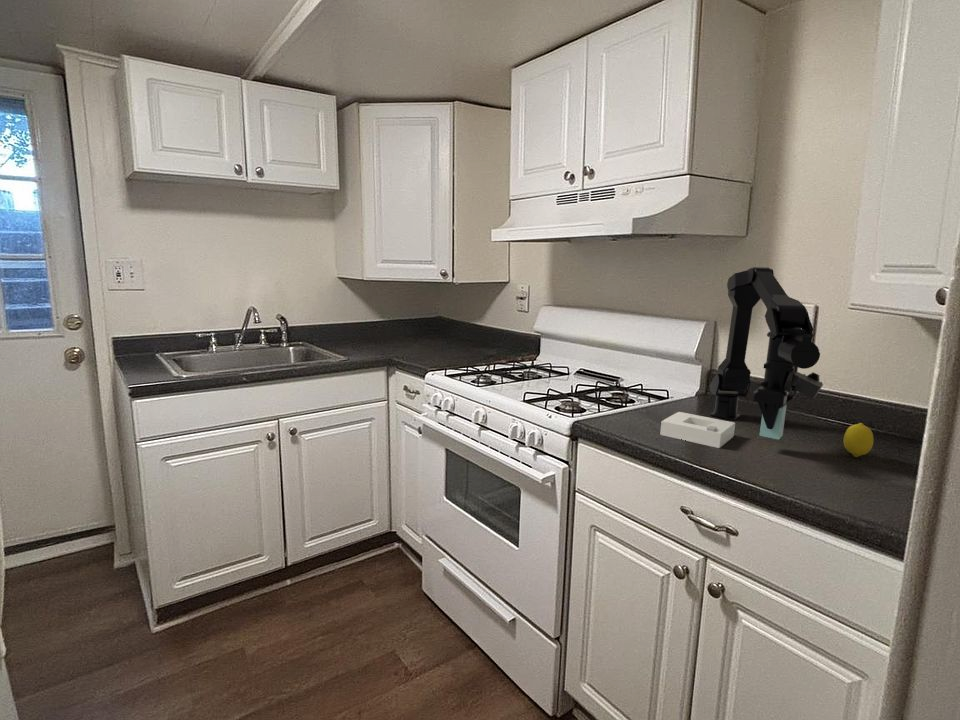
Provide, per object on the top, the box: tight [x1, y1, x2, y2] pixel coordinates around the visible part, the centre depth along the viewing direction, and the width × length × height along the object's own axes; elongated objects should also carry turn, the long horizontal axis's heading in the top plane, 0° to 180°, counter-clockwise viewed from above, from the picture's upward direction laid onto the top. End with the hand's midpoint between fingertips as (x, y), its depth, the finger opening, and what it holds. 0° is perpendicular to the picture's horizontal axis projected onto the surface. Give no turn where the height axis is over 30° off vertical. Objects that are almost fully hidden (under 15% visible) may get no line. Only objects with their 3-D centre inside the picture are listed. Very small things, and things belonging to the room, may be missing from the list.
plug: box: [758, 403, 788, 440], centre depth 127 cm, size 4×4×8 cm
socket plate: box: [659, 411, 736, 449], centre depth 137 cm, size 12×14×4 cm
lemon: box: [843, 422, 874, 458], centre depth 125 cm, size 6×6×8 cm
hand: (772, 426), depth 127 cm, fingers closed on plug, 4 cm apart
